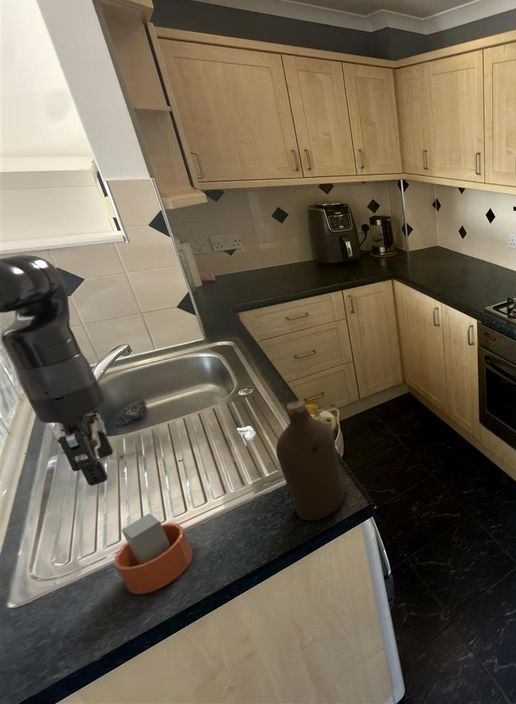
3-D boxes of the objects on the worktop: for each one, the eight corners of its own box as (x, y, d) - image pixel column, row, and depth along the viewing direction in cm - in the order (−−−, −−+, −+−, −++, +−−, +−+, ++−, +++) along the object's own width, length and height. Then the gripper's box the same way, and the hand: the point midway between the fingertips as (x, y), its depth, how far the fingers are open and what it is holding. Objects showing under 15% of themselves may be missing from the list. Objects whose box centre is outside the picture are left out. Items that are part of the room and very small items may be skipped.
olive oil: (356, 488, 92) (335, 392, 83) (327, 526, 82) (300, 422, 73) (315, 482, 94) (290, 388, 85) (282, 519, 84) (250, 417, 75)
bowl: (141, 603, 68) (128, 578, 66) (117, 579, 73) (104, 555, 70) (202, 558, 76) (192, 535, 74) (177, 539, 80) (167, 516, 78)
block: (152, 580, 72) (131, 538, 68) (141, 571, 73) (121, 529, 70) (178, 562, 75) (159, 521, 71) (167, 553, 77) (149, 513, 73)
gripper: (37, 376, 66) (78, 457, 72) (12, 413, 56) (63, 504, 61) (100, 362, 71) (134, 439, 76) (88, 394, 60) (128, 480, 66)
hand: (102, 468), depth 69 cm, fingers open, 8 cm apart
